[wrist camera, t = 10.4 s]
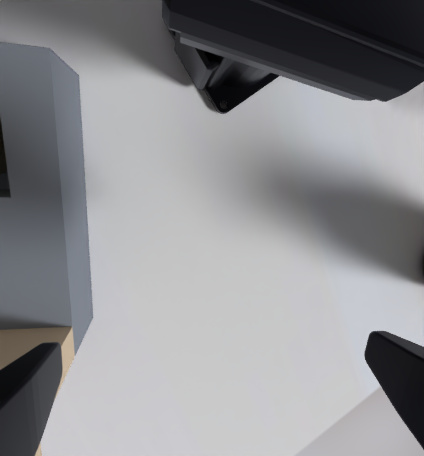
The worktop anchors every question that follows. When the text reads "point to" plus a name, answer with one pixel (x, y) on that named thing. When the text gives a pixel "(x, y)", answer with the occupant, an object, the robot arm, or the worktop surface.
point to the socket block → (42, 207)
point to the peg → (2, 152)
